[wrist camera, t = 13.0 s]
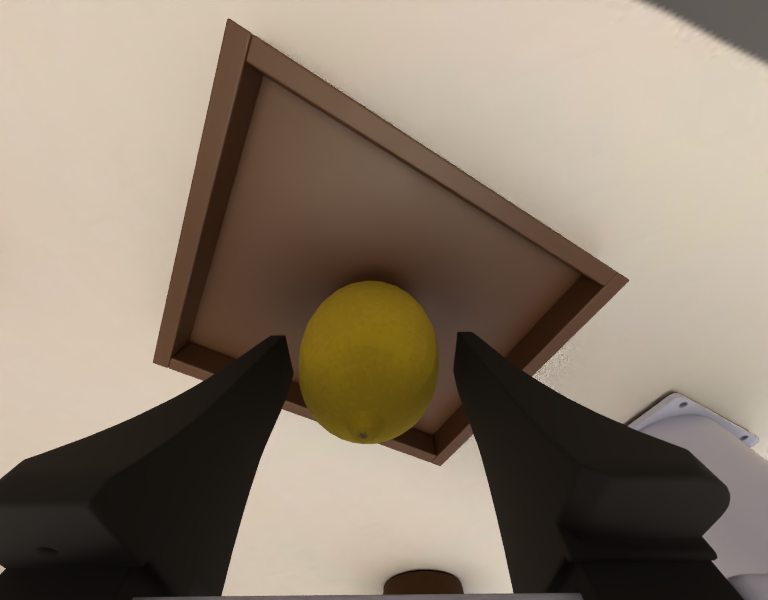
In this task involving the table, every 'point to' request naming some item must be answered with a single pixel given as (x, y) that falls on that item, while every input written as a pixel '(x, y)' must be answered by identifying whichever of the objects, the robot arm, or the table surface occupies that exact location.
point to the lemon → (368, 362)
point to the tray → (355, 239)
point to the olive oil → (423, 584)
